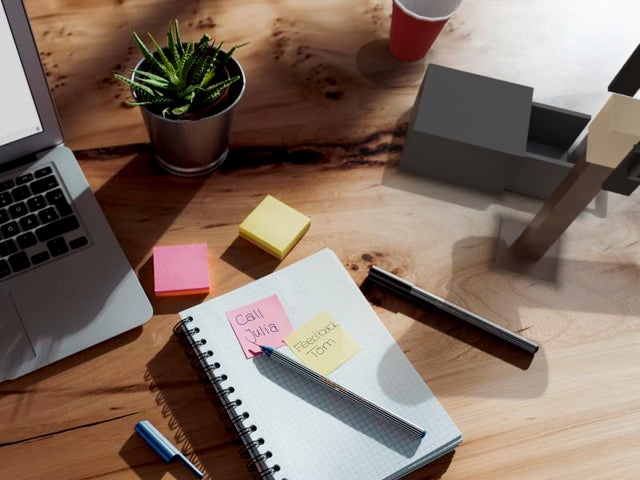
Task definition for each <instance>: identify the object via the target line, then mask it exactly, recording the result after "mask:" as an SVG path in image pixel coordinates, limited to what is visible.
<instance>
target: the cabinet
mask: <svg viewBox="0 0 640 480" xmlns="http://www.w3.org/2000/svg"><path fill="white" fill-rule="evenodd" d="M426 67H427V68H426V69H425V73H424V76H423V77H422V81H421V83H420V86H419V89H418V91H417V94H416V97H415V99H414V102H413V104H412V108H411V111H410V117H409V120H408V124H407V129H406V132H405V138H404V141H403V145H402V149H401V153H400V157H399V162H398V166H397V171H400V172H403V173H408V174H411V175H415V176H419V177H423V178H427V179H430V180H434V181H438V182H443V183H446V184H450V185H454V186H458V187H461V188H465V189H470V190H474V191H477V192H481V193H485V194H489V195H493V196H498V197H501V194H502V193H503V192H504V190H505V189H504V188H505V187H506V185H507V184H508V182H509V181H510V179H511V178H512V176H513V175H514V173H515V172H516V170H517V168H518V167H519V165H520V164H521V162H522V161H523V159H524V158H525V152H526V144H527V136H528V129H529V121H530V114H531V106H532V101H533V99H534V91H535V87H532V86H528V85H524V84H520V83H516V82H512V81H508V80H503V79H499V78H494V77H490V76H486V75H482V74H477V73H474V72H469V71H465V70H461V69H457V68H452V67H448V66H445V65H440V64H436V63H432V62H428V64H427V66H426Z"/></svg>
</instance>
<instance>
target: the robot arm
mask: <svg viewBox="0 0 640 480" xmlns="http://www.w3.org/2000/svg"><path fill="white" fill-rule="evenodd" d="M639 91H640V42H639V43H638V44H637V46H636V47H635V49H634V50H633V51H632V53H630V55H629V57H628V58H627V60H626V61H625V63H624V64H623V65H622V66H621V68H620V69H619V71H618V72H617V73H616V75H615V76H614V77H613V79H611V81H610V82H609V84H608V85H607V92H608V93H612V94H618V95H622V96H627V97H631V98H634V97H635V96H636V94H637V93H638V92H639ZM639 187H640V141H639V142H638V143H637V144H634V146H633V149H632V150H631V151H630V152H629V153H628V154H627V155H626V156H625V158H624V159H623V160H622V161H621V162H620V163H619V164H618V166H617V167H616V168H615V169H614V170H613V171H612V172H611V174H610V175H609V176H608V177H607V178H606V179H605V180H604V182H603V183H602V186H601V191H605V192H610V193H612V194H613V193H614V194H618V195H622V196H624V197H630V196H632V194H633V193H634V192H635V191H636V190H637V189H638V188H639Z"/></svg>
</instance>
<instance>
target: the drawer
mask: <svg viewBox="0 0 640 480" xmlns="http://www.w3.org/2000/svg"><path fill="white" fill-rule="evenodd" d="M591 121H592V115H591V114H588V113H583V112H579V111H576V110H571V109H567V108H562V107H559V106H554V105H551V104H547V103H542V102H538V101H533V100H532V106H531V114H530V121H529V129H528V136H527V144H526V152H525V158H524V159H523V161H522V162H521V164H520V165H519V167H518V168H517V170H516V172H515V173H514V175H513V176H512V178H511V179H510V181H509V182H508V184H507V185H506V187H505V188H504V190H507V191H511V192H515V193H518V194H522V195H527V196H530V197H534V198H537V199H542V200H545V201H547V200H548V199H549V197H550V196H551V195H552V193H553V192H554V191H555V190H556V188H557V187H558V186H559V184H560V183H561V182H562V181H563V179H564V178H565V177H566V175H567V174H568V173H569V172H570V170H571V169H572V168H573V166H574V165H575V164H576V162H577V161H578V160H579V159H580V157H581V156H582V155H583V153H584V152H585V151H586V150H587V141H588V132H587V133H586V134H585V136H584V137H583V138H582V140H581V141H580V142H579V144H578V145H577V146H576V147H575V150H574V158H573V160H574V161H573V162H569V160H568V159H569V150H570V149H571V148H572V146H573V145H574V144H575V142H576V141H577V140H578V139H579V137H580V135H581V134H582V133H583V131H584V130H585V129H586V128H587V127H588V125H589V123H590V122H591Z"/></svg>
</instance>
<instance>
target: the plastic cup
mask: <svg viewBox="0 0 640 480" xmlns="http://www.w3.org/2000/svg"><path fill="white" fill-rule="evenodd" d="M391 1H392V4H391V18H390V28H389V43H388V48H389V51H390V53H391V54H392V55H393V56H394V57H396V58H397V59H399V60H401V61H405V62H410V63H411V62H417V61H420V60H422V59H424V58H425V57H426V56H427V54H428V52H429V50H430V49H431V48H432V46H433V44H434V43H435V41H436V40H437V38H438V36H439V35H440V33H441V32H442V30H443V28H444V27H445V26H446V24H447V23H448V21H449V20H451V18H452V17H454V16H456V15H457V14H458V13H459V11H460V10H461V8H462V7H463V5H464V4H465V0H391Z"/></svg>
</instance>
